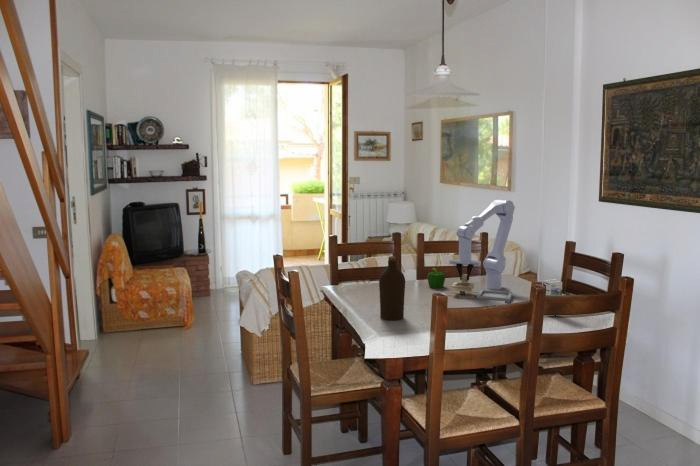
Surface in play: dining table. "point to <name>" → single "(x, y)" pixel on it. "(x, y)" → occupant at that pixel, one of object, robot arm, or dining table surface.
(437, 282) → the bell pepper
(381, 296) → the olive oil
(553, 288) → the syrup box
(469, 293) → the base
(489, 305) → the dining table surface
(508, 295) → the slate tray
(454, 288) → the tan frame with tab
